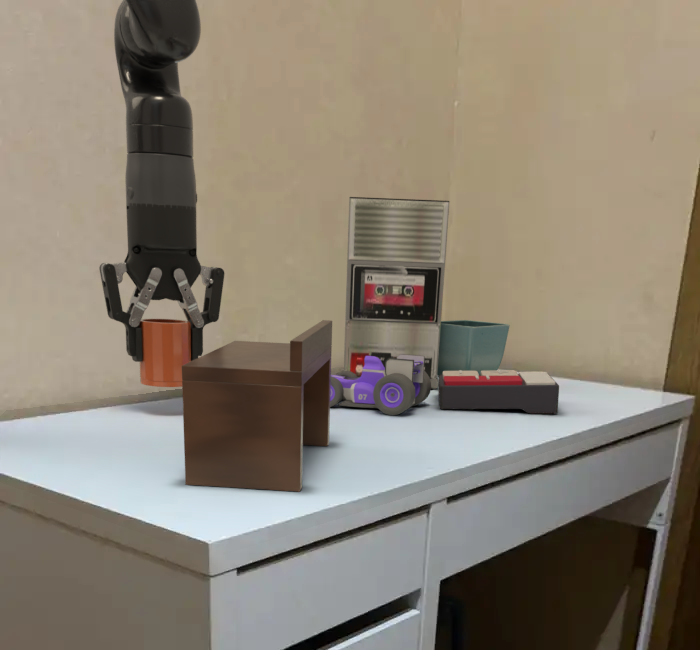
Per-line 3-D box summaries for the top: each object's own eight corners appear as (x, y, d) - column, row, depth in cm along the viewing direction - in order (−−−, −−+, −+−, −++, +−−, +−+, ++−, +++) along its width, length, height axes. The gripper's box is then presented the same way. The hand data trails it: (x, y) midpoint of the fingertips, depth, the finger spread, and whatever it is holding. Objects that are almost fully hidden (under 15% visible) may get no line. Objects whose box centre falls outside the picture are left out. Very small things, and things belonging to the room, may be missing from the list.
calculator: (438, 368, 129) (549, 367, 128) (438, 400, 130) (547, 399, 129) (440, 380, 119) (560, 379, 118) (439, 414, 120) (558, 413, 119)
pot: (133, 385, 107) (131, 321, 104) (149, 378, 112) (147, 317, 110) (183, 388, 106) (182, 324, 104) (196, 381, 112) (195, 320, 109)
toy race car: (323, 395, 127) (325, 345, 124) (430, 405, 122) (433, 354, 120) (296, 405, 119) (296, 352, 116) (408, 417, 114) (412, 362, 112)
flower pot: (422, 383, 141) (426, 320, 137) (461, 379, 146) (466, 319, 143) (466, 391, 135) (471, 326, 131) (505, 386, 140) (511, 324, 137)
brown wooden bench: (185, 484, 81) (180, 335, 76) (235, 438, 99) (234, 315, 94) (300, 491, 80) (302, 341, 75) (329, 443, 98) (332, 320, 93)
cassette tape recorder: (342, 386, 135) (348, 196, 125) (342, 380, 141) (348, 198, 131) (437, 390, 135) (451, 200, 126) (433, 383, 141) (446, 202, 131)
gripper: (213, 206, 108) (214, 356, 114) (87, 198, 102) (95, 357, 108) (235, 206, 102) (234, 364, 108) (102, 197, 96) (110, 365, 102)
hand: (165, 360), depth 108 cm, fingers closed on pot, 6 cm apart
